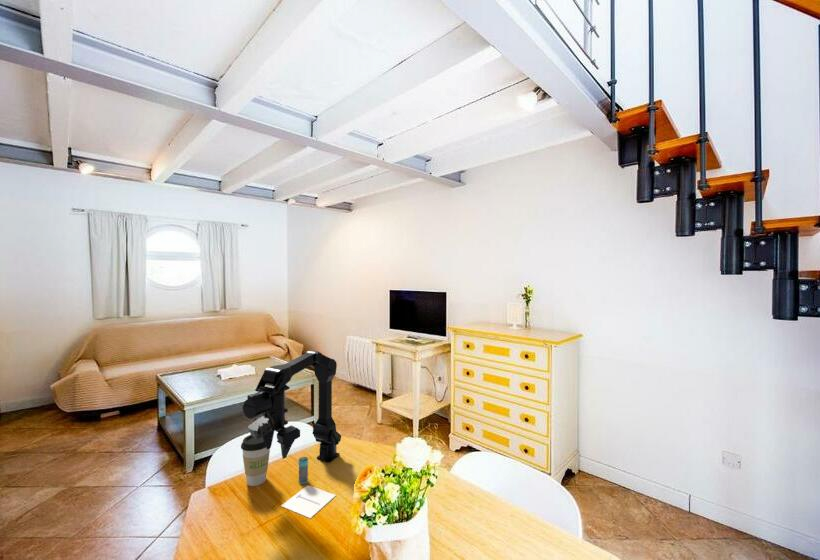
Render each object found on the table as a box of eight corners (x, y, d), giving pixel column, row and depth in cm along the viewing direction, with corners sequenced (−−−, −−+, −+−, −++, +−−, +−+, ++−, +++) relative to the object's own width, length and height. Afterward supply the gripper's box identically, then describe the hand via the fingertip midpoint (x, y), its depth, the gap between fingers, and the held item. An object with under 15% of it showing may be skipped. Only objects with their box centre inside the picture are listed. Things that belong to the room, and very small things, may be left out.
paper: (307, 485, 122) (307, 485, 122) (335, 495, 117) (335, 495, 117) (280, 506, 111) (280, 505, 111) (310, 518, 106) (310, 517, 106)
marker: (303, 478, 126) (303, 456, 126) (309, 480, 125) (309, 458, 125) (296, 482, 124) (296, 460, 123) (303, 485, 122) (303, 462, 122)
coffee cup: (264, 489, 120) (264, 445, 119) (235, 489, 120) (235, 445, 120) (276, 472, 130) (275, 432, 129) (249, 472, 130) (249, 431, 129)
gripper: (236, 407, 115) (237, 454, 116) (268, 423, 104) (269, 475, 104) (268, 397, 124) (269, 441, 125) (300, 410, 113) (301, 458, 113)
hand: (276, 453), depth 117 cm, fingers open, 9 cm apart
